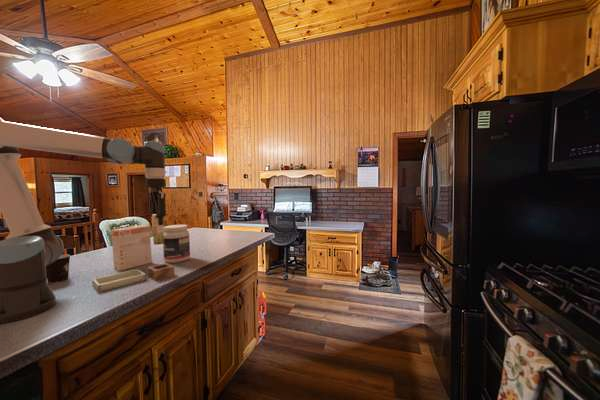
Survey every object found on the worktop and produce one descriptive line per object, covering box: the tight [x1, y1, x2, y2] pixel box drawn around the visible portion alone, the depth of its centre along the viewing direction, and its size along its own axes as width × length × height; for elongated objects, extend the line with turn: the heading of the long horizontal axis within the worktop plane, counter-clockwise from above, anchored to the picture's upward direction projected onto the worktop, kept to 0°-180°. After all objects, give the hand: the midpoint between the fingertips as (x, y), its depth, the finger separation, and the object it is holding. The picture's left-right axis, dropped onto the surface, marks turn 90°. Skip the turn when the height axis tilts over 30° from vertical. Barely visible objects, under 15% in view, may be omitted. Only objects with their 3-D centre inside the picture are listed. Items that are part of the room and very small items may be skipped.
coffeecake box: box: [111, 224, 153, 271], centre depth 126 cm, size 15×7×20 cm, turn 144°
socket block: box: [147, 262, 175, 281], centre depth 111 cm, size 8×8×4 cm
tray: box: [91, 268, 147, 293], centre depth 104 cm, size 16×11×2 cm
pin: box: [151, 214, 165, 246], centre depth 110 cm, size 4×4×13 cm
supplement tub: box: [162, 224, 191, 264], centre depth 134 cm, size 13×13×18 cm
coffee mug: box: [46, 254, 71, 284], centre depth 110 cm, size 12×9×10 cm
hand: (158, 231), depth 110 cm, fingers closed on pin, 4 cm apart
